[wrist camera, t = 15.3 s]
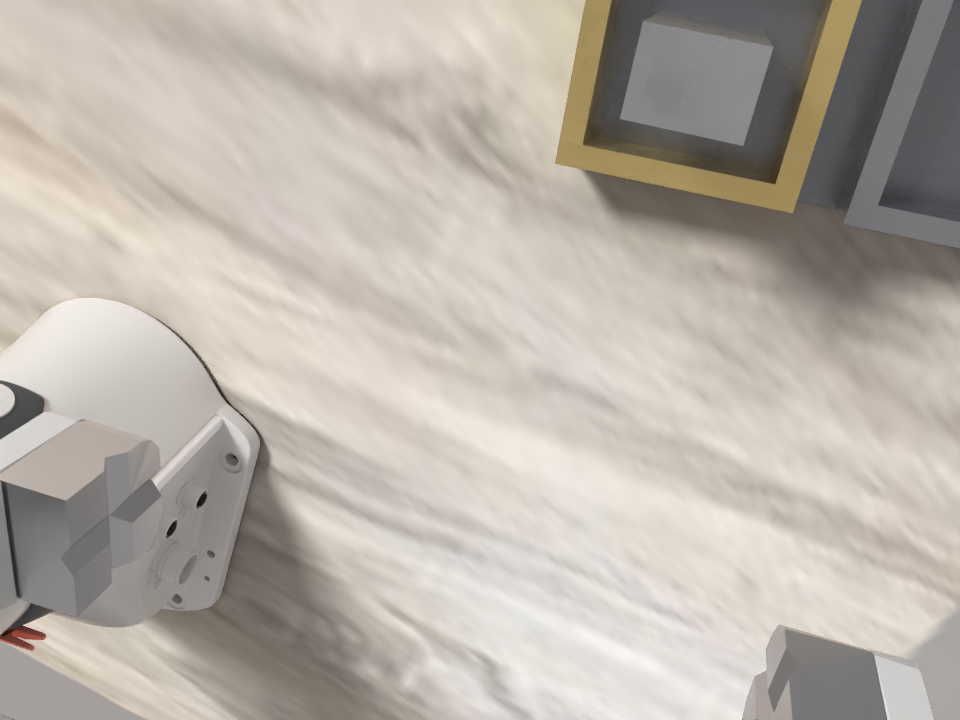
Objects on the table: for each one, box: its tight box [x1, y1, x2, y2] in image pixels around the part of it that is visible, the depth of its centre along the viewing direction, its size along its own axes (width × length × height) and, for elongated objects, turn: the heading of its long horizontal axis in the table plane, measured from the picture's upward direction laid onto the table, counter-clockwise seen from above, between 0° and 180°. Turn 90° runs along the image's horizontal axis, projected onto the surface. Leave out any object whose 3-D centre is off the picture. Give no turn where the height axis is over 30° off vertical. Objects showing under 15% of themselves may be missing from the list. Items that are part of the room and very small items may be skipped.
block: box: [620, 10, 773, 146], centre depth 31 cm, size 3×4×10 cm
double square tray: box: [555, 0, 960, 248], centre depth 33 cm, size 10×22×4 cm, turn 81°
